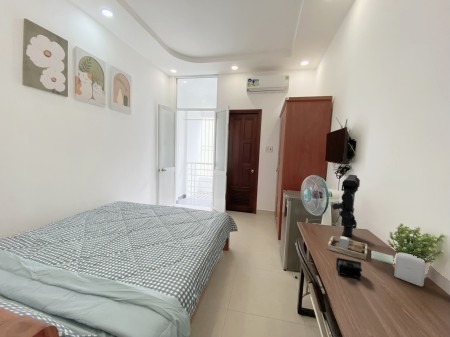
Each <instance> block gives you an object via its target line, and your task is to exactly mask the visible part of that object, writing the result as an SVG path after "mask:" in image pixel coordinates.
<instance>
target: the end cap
mask: <svg viewBox="0 0 450 337" xmlns="http://www.w3.org/2000/svg"><path fill="white" fill-rule="evenodd" d="M335 260H336V261H335V264H336V265H335V266H336V268H335V269H336V271H337V275H338V276H339V277H342V278H346V279H351V280H356V281H362V280H361V278H362V272H363V269H362V262H361V261H358V260H353V259H348V258H343V257H336V259H335Z"/></svg>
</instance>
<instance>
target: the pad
mask: <svg viewBox="0 0 450 337" xmlns="http://www.w3.org/2000/svg"><path fill="white" fill-rule="evenodd" d="M370 254H371V256H370V257H371V259H372V260H375V261H379V262H382V263H386V264H390V265H393V264H392V263H393V260H394V261H395V259H394V255H390V254H387V253H384V252H383V253H382V252H380V251H374V250H371V253H370Z"/></svg>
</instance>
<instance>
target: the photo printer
mask: <svg viewBox="0 0 450 337" xmlns="http://www.w3.org/2000/svg"><path fill="white" fill-rule="evenodd" d="M417 257H418V256H416V255H414V256H413V254H410V253H406V252H397V254H396V256H395V261H394V263H395V265H394V272H393V273H394V274H393V275H394V277H396V278H398V279H399V280H403V281H406V282H408V283H410V284H413V285H416V286H419V287H423V286H425V285H424V283H425V274H426V263H425V262H426V261H425V260H424V259H423V258H421V257H419V258H417Z"/></svg>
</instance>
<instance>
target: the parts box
mask: <svg viewBox="0 0 450 337" xmlns="http://www.w3.org/2000/svg"><path fill="white" fill-rule="evenodd" d="M349 240H350V237H348V236H343V235H340V240H339V241H338V247H339V248H343V249H346V250H349V244H348V243H349Z"/></svg>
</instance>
